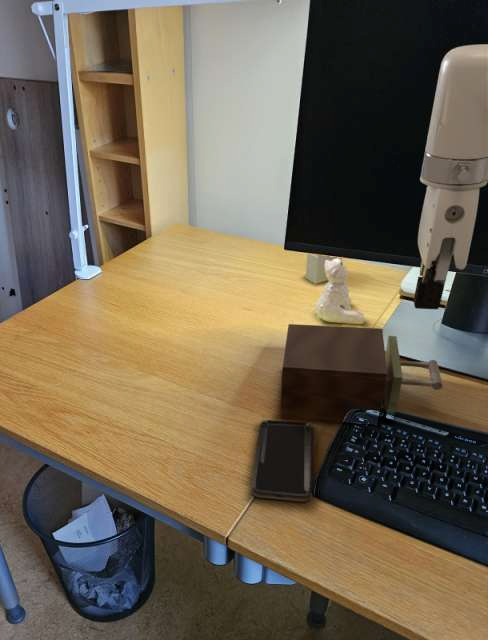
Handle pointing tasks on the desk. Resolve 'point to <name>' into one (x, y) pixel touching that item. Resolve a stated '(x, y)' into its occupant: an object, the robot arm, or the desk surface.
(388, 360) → the drawer
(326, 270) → the sitting furry creature
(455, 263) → the robot arm
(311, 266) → the cream upright block
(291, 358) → the cabinet
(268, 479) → the phone
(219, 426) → the desk surface
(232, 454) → the desk surface
